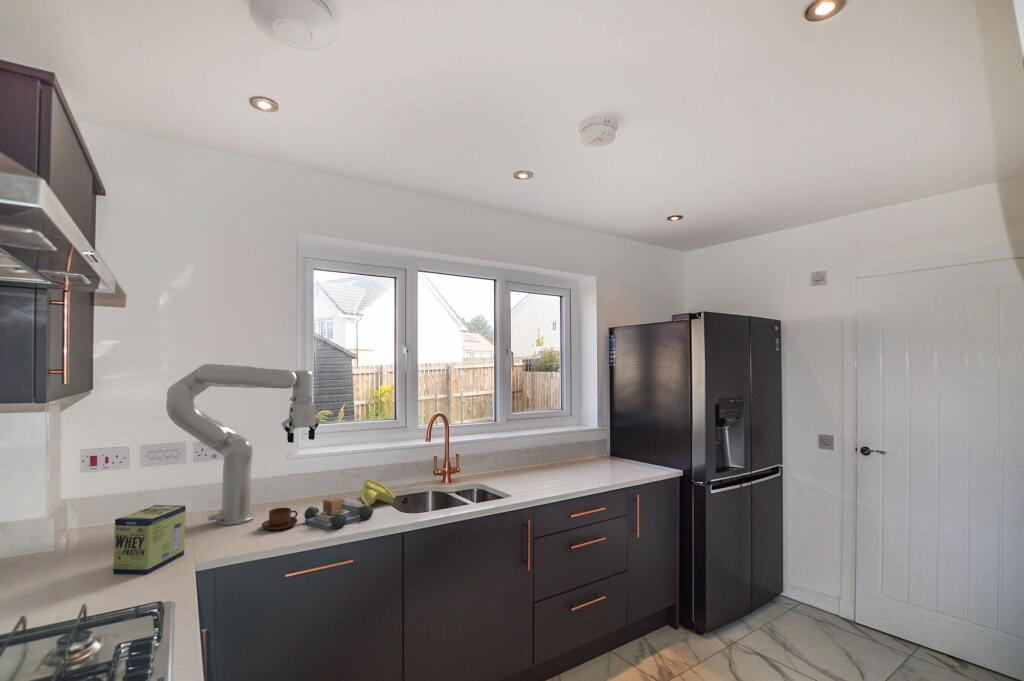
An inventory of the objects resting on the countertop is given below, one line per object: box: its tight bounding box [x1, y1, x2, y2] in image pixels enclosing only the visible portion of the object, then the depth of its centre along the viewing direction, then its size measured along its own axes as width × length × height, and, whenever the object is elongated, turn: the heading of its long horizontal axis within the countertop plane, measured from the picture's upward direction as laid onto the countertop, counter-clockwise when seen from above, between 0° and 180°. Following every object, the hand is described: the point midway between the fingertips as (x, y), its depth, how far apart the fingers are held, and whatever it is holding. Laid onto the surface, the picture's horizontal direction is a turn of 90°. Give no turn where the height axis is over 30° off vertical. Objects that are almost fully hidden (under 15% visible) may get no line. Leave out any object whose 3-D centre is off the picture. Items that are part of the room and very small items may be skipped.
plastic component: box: [360, 478, 396, 506], centre depth 222 cm, size 20×8×10 cm
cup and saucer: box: [261, 507, 299, 531], centre depth 185 cm, size 12×12×6 cm
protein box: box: [112, 504, 187, 576], centre depth 150 cm, size 10×16×16 cm
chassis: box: [303, 499, 374, 531], centre depth 193 cm, size 20×18×5 cm
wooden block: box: [322, 496, 344, 516], centre depth 191 cm, size 5×5×7 cm
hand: (301, 440), depth 208 cm, fingers open, 9 cm apart
